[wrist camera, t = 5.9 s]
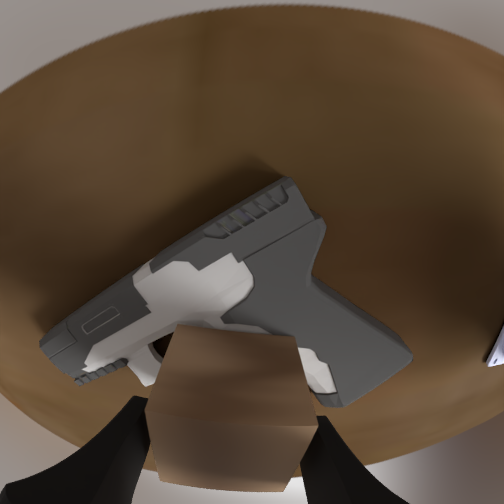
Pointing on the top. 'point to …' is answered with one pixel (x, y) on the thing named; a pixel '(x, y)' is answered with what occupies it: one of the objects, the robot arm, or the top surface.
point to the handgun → (235, 302)
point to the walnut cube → (230, 410)
